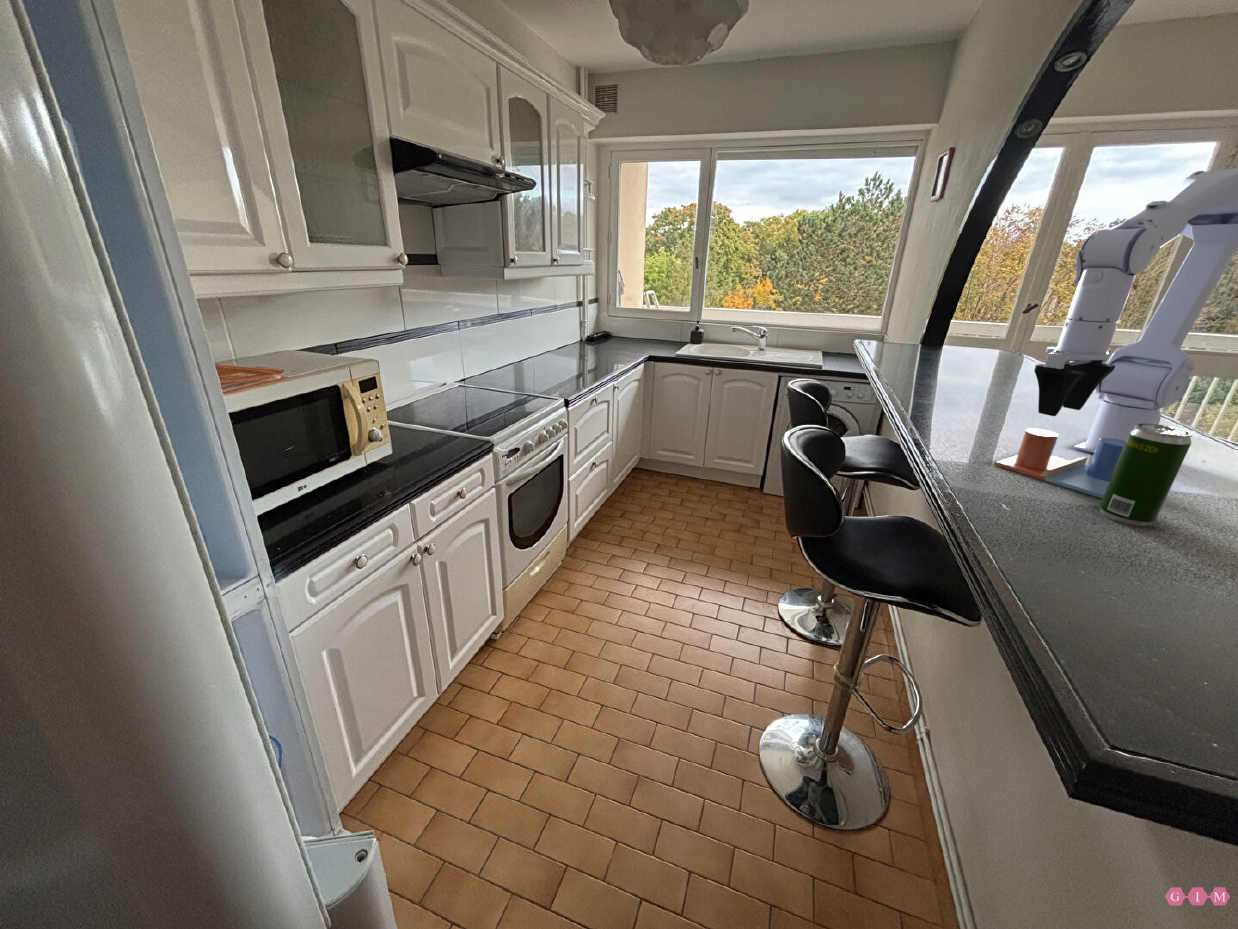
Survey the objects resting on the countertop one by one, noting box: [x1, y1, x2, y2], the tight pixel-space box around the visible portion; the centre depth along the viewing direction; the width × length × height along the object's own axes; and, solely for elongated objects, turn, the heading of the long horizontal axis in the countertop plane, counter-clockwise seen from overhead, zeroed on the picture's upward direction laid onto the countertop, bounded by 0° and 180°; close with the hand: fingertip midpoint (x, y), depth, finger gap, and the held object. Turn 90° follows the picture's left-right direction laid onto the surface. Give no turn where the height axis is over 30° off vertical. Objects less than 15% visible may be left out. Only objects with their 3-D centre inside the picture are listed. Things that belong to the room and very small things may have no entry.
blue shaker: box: [1087, 438, 1126, 481], centre depth 76 cm, size 4×4×6 cm
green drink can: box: [1099, 423, 1193, 527], centre depth 63 cm, size 5×5×12 cm
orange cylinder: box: [1015, 428, 1059, 470], centre depth 80 cm, size 4×4×6 cm
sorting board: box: [993, 454, 1109, 499], centre depth 79 cm, size 12×14×2 cm
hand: (1059, 411), depth 78 cm, fingers open, 7 cm apart
